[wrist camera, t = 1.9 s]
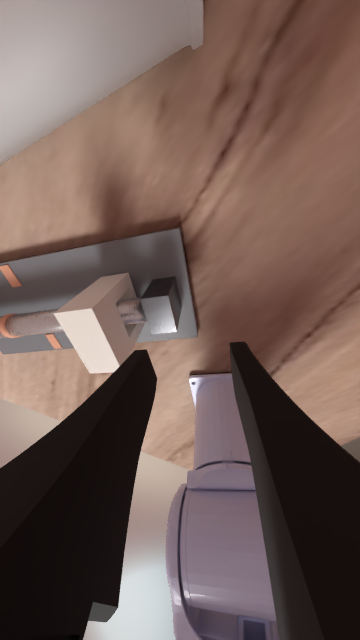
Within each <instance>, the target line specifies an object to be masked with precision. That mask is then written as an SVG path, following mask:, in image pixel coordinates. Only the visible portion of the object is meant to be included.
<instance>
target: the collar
mask: <svg viewBox="0 0 360 640" xmlns="http://www.w3.org/2000/svg"><path fill="white" fill-rule="evenodd" d="M132 298H137V297H136V294H135V291H134V288H133V285H132V282H131V279H130V276H129V273H122V274H116V275H110V276H104V277H101V278H99V279H98V280H97V281H95V282H94V283H93V284H91V285H90V286H89V287H87V288H86V289H85V290H83V291H82V292H81V293H79V294H78V295H77V296H76V297H74V298H73V299H72V300H70V301H69V302H68V303H66V304H65V305H64V306H62V307H61V308H60V309H58V310H57V311H56V312H54V313H53V314H54V315H55V317H56V319H57V320H58V322H59V324H60V325H61V327H62V328H63V330H64V332H65V333H66V335H67V337H68V338H69V340H70V342H71V343H72V345H73V346H74V348H75V350H76V351H77V353H78V355H79V356H80V358H81V360H82V361H83V363H84V364H85V366H86V368H87V369H88V371H89V373H107V372H115V371H116V370H117V369H118V368H119V367H120V365H121V364H122V363H123V362H124V361H125V360H126V359H127V358H128V357H129V356H130V354H131V352H132V350H133V348H134V346H135V343H136V341H137V339H138V337H139V335H140V333H141V331H142V329H143V326H144V324H145V323H136V324H127V325H124V323H123V321H122V318H121V316H120V313H119V311H118V309H117V306H116V302H117V301H118V300H125V299H132Z"/></svg>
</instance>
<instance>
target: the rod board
mask: <svg viewBox="0 0 360 640" xmlns="http://www.w3.org/2000/svg"><path fill="white" fill-rule="evenodd" d="M122 273H129V276H130V279H131V282H132V285H133V288H134V291H135V294H136V297H137V298H132V299H125V300H118V301H117V302H116V306H117V309H118V311H119V313H120V316H121V318H122V321H123V323H124V325H127V324H136V323H145V324H144V326H143V329H142V331H141V333H140V335H139V337H138V339H137V341H136V343H137V342H149V341H160V340H171V339H183V338H194V337H198V329H197V323H196V317H195V312H194V306H193V300H192V294H191V288H190V282H189V276H188V270H187V265H186V259H185V253H184V247H183V241H182V235H181V229H180V227H178V228H173V229H168V230H163V231H158V232H153V233H148V234H142V235H137V236H132V237H127V238H122V239H117V240H112V241H107V242H102V243H97V244H92V245H87V246H82V247H77V248H72V249H67V250H62V251H57V252H52V253H47V254H42V255H37V256H32V257H27V258H22V259H17V260H12V261H7V262H2V263H0V351H1V352H2V353H3V354H14V353H25V352H36V351H47V350H59V349H70V348H74V346H73V345H72V343H71V342H70V340H69V338H68V337H67V335H66V333H65V332H64V330H63V328H62V327H61V325H60V324H59V322H58V320H57V319H56V317H55V315H54V314H53V313H54V312H56V311H57V310H58V309H60V308H61V307H62V306H64V305H65V304H66V303H68V302H69V301H70V300H72V299H73V298H74V297H76V296H77V295H78V294H79V293H81V292H82V291H83V290H85V289H86V288H87V287H89V286H90V285H91V284H93V283H94V282H95V281H97V280H98V279H99V278H101V277H104V276H110V275H116V274H122Z"/></svg>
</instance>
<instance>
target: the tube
mask: <svg viewBox="0 0 360 640" xmlns="http://www.w3.org/2000/svg"><path fill="white" fill-rule="evenodd" d="M203 42H204V3H203V0H0V165H1V164H3V163H4V162H6V161H7V160H9V159H10V158H12V157H14V156H15V155H17V154H18V153H20V152H21V151H23V150H24V149H26V148H28V147H29V146H31V145H32V144H34V143H35V142H37V141H39V140H40V139H42V138H43V137H45V136H46V135H48V134H49V133H51V132H53V131H54V130H56V129H57V128H59V127H60V126H62V125H63V124H65V123H67V122H68V121H70V120H71V119H73V118H74V117H76V116H78V115H79V114H81V113H82V112H84V111H85V110H87V109H88V108H90V107H92V106H93V105H95V104H96V103H98V102H99V101H101V100H102V99H104V98H106V97H107V96H109V95H110V94H112V93H113V92H115V91H116V90H118V89H120V88H121V87H123V86H124V85H126V84H127V83H129V82H131V81H132V80H134V79H135V78H137V77H138V76H140V75H141V74H143V73H145V72H146V71H148V70H149V69H151V68H152V67H154V66H155V65H157V64H159V63H160V62H162V61H163V60H165V59H166V58H168V57H169V56H171V55H173V54H174V53H176V52H177V51H179V50H180V49H182V48H184V47H186V46H190V47H192V49H193V50H194V49H196V48H198V47H199V46H201V45H203Z"/></svg>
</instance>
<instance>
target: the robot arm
mask: <svg viewBox="0 0 360 640" xmlns="http://www.w3.org/2000/svg"><path fill="white" fill-rule="evenodd" d="M230 355H231V370H232V373H227V374H208V375H191V376H190V377H189V383H190V387H191V392H192V396H193V400H194V404H195V408H196V411H195V440H194V469H193V471H188V476H187V484H182V485H181V486H180V487H179V489H178V491H177V493H176V494H175V496H174V498H173V501H172V503H171V507H170V511H169V517H168V524H167V534H166V569H167V577H168V583H169V587H170V591H171V598H172V608H173V622H174V634H175V637H176V640H360V462H359V461H358V460H356V459H355V458H354V457H353V456H352V455H351V454H349V453H348V452H347V451H346V450H345V449H343V448H342V447H341V446H340V445H339V444H338V443H336V442H335V441H334V440H333V439H332V438H331V437H330V436H329V435H328V434H327V433H325V432H324V431H323V430H322V429H321V428H320V427H319V426H318V425H317V424H316V423H315V422H314V421H313V420H311V419H310V418H309V417H308V416H307V415H306V414H305V413H304V412H303V411H302V410H301V409H300V408H299V407H298V406H297V405H296V404H295V403H294V402H293V401H292V400H291V399H290V397H289V396H288V395H287V394H286V393H285V392H284V391H283V390H282V389H281V388H280V387H279V385H278V384H277V383H276V382H275V381H274V380H273V379H272V377H271V376H270V375H269V374H268V373H267V371H266V370H265V369H264V368H263V366H262V365H261V364H260V363H259V361H258V360H257V359H256V357H255V356H254V354H253V353H252V352H251V350H250V349H249V347H248V345H247V344H246V343H245V342H233V343H230ZM156 383H157V377H156V374H155V371H154V369H153V366H152V363H151V360H150V358H149V355H148V352H147V350H135V351H134V352H133V353H132V354H131V355H130V356H129V357H128V358H127V359H126V360H125V361H124V362H123V363H122V364H121V365H120V367H119V368H118V369H117V370H116V371H115V372H114V373H113V374H112V375H111V376H110V377H109V378H108V379H107V380H106V381H105V382H104V383H103V384H102V385H101V386H100V387H99V388H98V389H97V390H96V391H95V392H94V393H93V394H92V395H91V396H90V397H89V398H88V399H87V400H86V401H85V402H84V403H83V404H82V405H81V406H79V407H78V408H77V409H76V410H75V411H74V412H73V413H72V414H70V415H69V416H68V417H67V418H66V419H65V420H63V421H62V422H61V423H60V424H59V425H58V426H56V427H55V428H54V429H53V430H51V431H50V432H49V433H47V434H46V435H45V436H44V437H42V438H41V439H40V440H38V441H37V442H36V443H35V444H33V445H32V446H30V447H29V448H28V449H27V450H25V451H24V452H23V453H21V454H20V455H19V456H17V457H16V458H14V459H13V460H12V461H10V462H9V463H7V464H6V465H5V466H3V467H2V468H0V640H83V637H84V634H85V630H86V626H87V622H88V621H98V622H107V621H108V620H109V619H110V618H111V617H112V615H113V614H114V613H115V611H116V610H117V608H118V603H119V593H120V584H121V575H122V567H123V558H124V550H125V542H126V534H127V528H128V521H129V514H130V507H131V501H132V495H133V488H134V482H135V477H136V471H137V465H138V460H139V455H140V451H141V447H142V443H143V439H144V436H145V432H146V428H147V425H148V421H149V417H150V413H151V410H152V406H153V402H154V397H155V391H156Z"/></svg>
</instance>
